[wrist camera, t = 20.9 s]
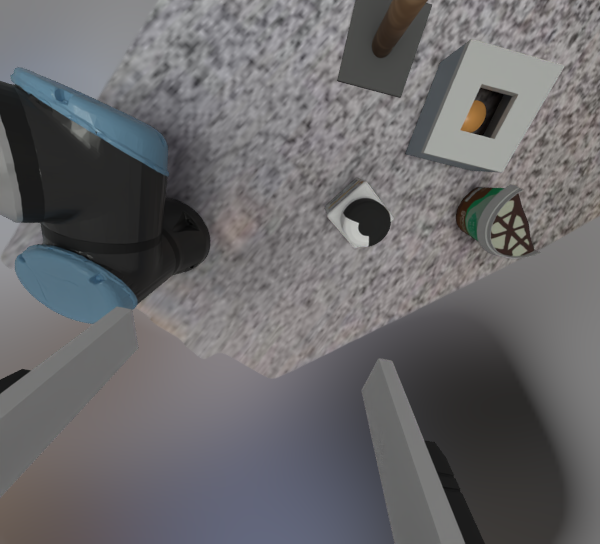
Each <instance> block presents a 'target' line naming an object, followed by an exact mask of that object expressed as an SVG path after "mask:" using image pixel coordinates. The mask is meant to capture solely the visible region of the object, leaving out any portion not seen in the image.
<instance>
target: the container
mask: <svg viewBox="0 0 600 544" xmlns="http://www.w3.org/2000/svg"><path fill="white" fill-rule="evenodd" d="M325 210H326V214H327V217H328V218H329V220H330V221H331V222H332V223H333V224H334V225H335V226H336V228H337V229H338V230H339V231H340V232H341V233H342V235H343V236H344V237H345V238H346V239H347V240H348V242H349V243H350V244H351V245H352V246H353V247H354V248H357V247H359V246H360V247H368V246H372V245H375V244H377V243H378V242H380V241H381V240H382V239H383V238H384V237H385V236H386V235H387V233H388V231H389V229H390V224H391V221H393V219H394V218H393V216H392V215H391V213H390V212H389V211H388V209H387V208H386V207H385V205H384V204H383V203H382V201H381V200H380V199H379V197H378V196H377V195H376V193H375V192H374V190H373V189H372V188H371V186H370V185H369V184H368V182H366V181H363V180H361V179H358V178H356V179H355V180H354V181H353V182H352V183H350V184H349V185H348V186H347V187H346V188H345V189H344V190H343V191H342V192H340V193H339V194H338V195H337V196H336V197H335V198H334V199H333V200H332V201H330V202H329V203H328V204H327V205H326V206H325Z"/></svg>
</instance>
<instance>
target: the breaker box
mask: <svg viewBox="0 0 600 544" xmlns="http://www.w3.org/2000/svg"><path fill="white" fill-rule="evenodd" d="M563 68H564V65H561V64H557V63H554V62H550V61H547V60H543V59H540V58H536V57H533V56H529V55H526V54H522V53H519V52H515V51H512V50H508V49H505V48H501V47H498V46H494V45H491V44H487V43H484V42H480V41H477V40H473V39H471V40H469V41H468V42H467V43H465V44H464V45H463V46H461V47H460V48H459V49H458V50H456V51H455V52H454V53H452V54H451V55H450V56H448V57H447V58H446V59H444V60H443V61H442V62H440V65H439V67H438V70H437V73H436V75H435V78H434V80H433V83H432V86H431V88H430V91H429V93H428V96H427V99H426V101H425V104H424V106H423V109H422V112H421V114H420V117H419V119H418V122H417V125H416V127H415V130H414V132H413V135H412V138H411V140H410V143H409V145H408V148H407V151H406V153H405V154H407V155H411V156H415V157H419V158H423V159H427V160H431V161H435V162H439V163H443V164H447V165H451V166H455V167H459V168H463V169H467V170H471V171H485V172H501V173H502V172H503V171H504V169H505V167H506V166H507V164H508V162H509V160H510V159H511V157H512V155H513V154H514V152H515V150H516V148H517V147H518V145H519V143H520V142H521V140H522V138H523V136H524V135H525V133H526V131H527V130H528V128H529V126H530V124H531V123H532V121H533V119H534V118H535V116H536V114H537V112H538V111H539V109H540V107H541V106H542V104H543V102H544V100H545V99H546V97H547V95H548V94H549V92H550V90H551V88H552V87H553V85H554V83H555V82H556V80H557V78H558V76H559V75H560V73H561V71H562V70H563ZM480 87H481V88H484V89H488V90H492V91H495V92H499V93H503V94H504V95H503V97H502V99H501V101H500V103H499V105H498V107H497V109H496V111H495V113H494V115H493V117H492V119H491V121H490V123H489V125H488V127H487V129H486V131H485V133H484V135H483V136H481V135H477V134H473V133H469V132H465V131H461V128H462V125H463V123H464V121H465V119H466V117H467V115H468V113H469V110H470V108H471V106H472V104H473V102H474V100H475V98H476V95H477V93H478V91H479V89H480Z"/></svg>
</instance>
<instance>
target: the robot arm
mask: <svg viewBox="0 0 600 544" xmlns="http://www.w3.org/2000/svg"><path fill="white" fill-rule="evenodd" d="M11 80H12V82H13V83H15V85H12V84H8V83H5V82H2V81H0V215H2V216H4V217H6V218H8V219H10V220H12V221H14V222H17V223H41V229H42V235H43V243H42V245H40V244H37V245H33V246H30V247H28V248H27V250H25V251H24V252H23V253H22V254H20V255H18V256H17V258H16V260H15V271H16V274H17V276H18V278H19V280H20V282H21V283H22V284H23V286H24V287H25V288H26V289H27V291H28V292H29V293H30V294H31V295H32V296H33V297H35V298H36V299H37V300H38V301H39V302H41V303H42V304H44V305H45V306H47V307H48V308H50V309H51V310H53V311H55V312H56V313H58V314H61V315H63V316H65V317H67V318H70V319H73V320H76V321H80V322H84V323H90V324H93V325H92V326H90V327H89V328H88V329H86V330H85V331H84V332H82V333H81V334H80V335H78V336H77V337H75V338H74V339H73V340H72V341H70V342H69V343H67V344H66V345H65V346H63V347H62V348H61V349H59V350H58V351H57V352H56V353H54V354H53V355H51V356H50V357H49V358H47V359H46V360H45V361H43V362H42V363H41V364H40V365H38V366H37V367H36V368H34V369H33V370H31V371H30V370H25V369H21V370H19V371H17V372H15V373H13V374H11V375H9V376H7V377H5V378H3V379H1V380H0V498H1V497H2V495H3V494H4V493H5V492H6V491H7V490H8V489H9V488H10V487H11V486H12V485H13V483H14V482H15V481H16V480H17V479H18V478H19V477H20V476H21V475H22V474H23V473H24V472H25V471H26V469H27V468H28V467H29V466H30V465H31V464H32V463H33V462H34V460H36V458H38V456H39V455H40V454H41V453H42V452H43V451H44V450H45V449H46V448H47V446H49V445H50V443H51V442H52V441H53V440H54V439H55V438H56V437H57V436H58V434H60V433H61V431H62V430H63V429H64V428H65V427H66V426H67V425H68V424H69V423H70V422H71V421H72V420H73V419H74V417H75V416H76V415H77V414H78V413H79V412H80V411H81V410H82V409H83V408H84V407H85V405H86V404H87V403H88V402H89V401H90V400H91V399H92V398H93V397H94V396H95V395H96V394H97V393H98V391H99V390H100V389H101V388H102V387H103V386H104V385H105V384H106V383H107V382H108V381H109V379H110V378H111V377H112V376H113V375H114V374H115V373H116V372H117V371H118V370H119V369H120V367H121V366H122V365H123V364H124V363H125V362H126V361H127V360H128V359H129V358H130V357H131V356H132V354H134V352H135V351H136V350H137V349H138V342H137V336H136V329H135V323H134V317H133V311H132V310H133V309H134V308H135V307H136V306H137V305H138V303H140V302H141V301H142V300H143V299H144V298H146V297H147V296H148V295H149V294H150V293H152V292H153V291H154V290H155V289H156V288H158V287H159V286H160V285H161V284H162V283H164V282H165V281H166V280H167V279H168V278H169V277H171V276H172V275H175V274H179V273H183V272H186V271H189V270H192V269H194V268H195V267H197V266H198V265H199V264H200V263H201V262H202V261H203V260H204V259H205V258H206V256H207V254H208V252H209V248H210V237H209V233H208V230H207V227H206V225H205V223H204V222H203V220H202V219H201V217H200V216H199V215H198V214H197V213H196V212H195V211H194V210H193V209H192V208H190V207H189V206H187V205H186V204H184V203H182V202H180V201H177V200H174V199H170V198H165V196H166V185H167V176H169V172H168V171H167V164H168V146H167V142H166V140H165V138H164V137H163V136H162V134H161V133H160V132H159V131H157V130H156V129H155V128H153V127H151V126H149V125H148V124H146V123H144V122H142V121H140V120H138V119H136V118H134V117H132V116H130V115H128V114H126V113H124V112H121V111H119V110H117V109H115V108H113V107H111V106H109V105H107V104H104V103H102V102H100V101H98V100H96V99H94V98H92V97H89V96H87V95H85V94H83V93H81V92H78V91H76V90H74V89H72V88H69V87H67V86H65V85H62V84H60V83H58V82H56V81H53V80H51V79H48V78H46V77H43V76H41V75H38V74H36V73H34V72H32V71H30V70H27V69H23V68H19V67H18V68H15V70H14V73H13V74H12V75H11ZM362 395H363V399H364V404H365V409H366V413H367V418H368V423H369V427H370V432H371V436H372V441H373V446H374V450H375V455H376V460H377V464H378V469H379V473H380V478H381V482H382V487H383V492H384V497H385V501H386V506H387V510H388V515H389V520H390V524H391V529H392V533H393V538H394V543H395V544H485V543H484V541H483V539H482V537H481V535H480V532H479V530H478V528H477V525H476V523H475V521H474V520H473V517H472V514H471V512H470V510H469V508H468V506H467V503H466V501H465V499H464V497H463V494H462V493H461V492H460V488H459V486H458V483H457V481H456V479H455V478H454V476H453V472H452V470H451V468H450V466H449V463H448V461H447V459H446V457H445V456H444V454H443V453H442V452H441V450H440V449H439V447H438V446H437V445H436V443H435V442H430V441H425V440H423V437H422V434H421V432H420V429H419V427H418V424H417V422H416V419H415V417H414V414H413V412H412V409H411V407H410V404H409V402H408V400H407V397H406V394H405V392H404V390H403V387H402V384H401V382H400V379H399V377H398V375H397V372H396V369H395V367H394V364H393V362H392V361H390V360H384V359H378V361H377V362H376V365H375V366H374V368H373V370H372V372H371V374H370V375H369V377H368V379H367V381H366V383H365V385H364V387H363V388H362Z"/></svg>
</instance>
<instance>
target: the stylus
mask: <svg viewBox="0 0 600 544" xmlns="http://www.w3.org/2000/svg"><path fill="white" fill-rule="evenodd" d="M426 2H427V0H392V2H391V4H390V6H389V8H388V10H387V12H386V14H385V16H384V18H383V20H382V22H381V24H380V26H379V28H378V30H377V32H376V34H375V36H374V38H373V41H372V51H373V53H374V55H375V56H376V57H378V58H384V57H386V56H387V55H388V54H389V53H390V52H391V50H392V49H393V48H394V46H395V45H396V43H397V42H398V41H399V39H400V38H401V37H402V35H403V34H404V32H405V31H406V30H407V28H408V27H409V25H410V24H411V23H412V21H413V20H414V18H415V17H416V16H417V14H418V13H419V12H420V10H421V9H422V7H423V6H424V5H425V3H426Z"/></svg>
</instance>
